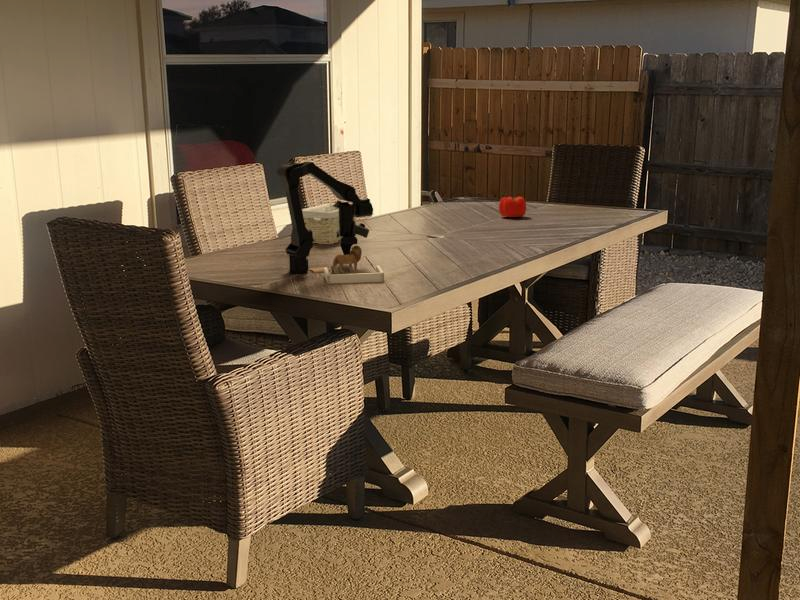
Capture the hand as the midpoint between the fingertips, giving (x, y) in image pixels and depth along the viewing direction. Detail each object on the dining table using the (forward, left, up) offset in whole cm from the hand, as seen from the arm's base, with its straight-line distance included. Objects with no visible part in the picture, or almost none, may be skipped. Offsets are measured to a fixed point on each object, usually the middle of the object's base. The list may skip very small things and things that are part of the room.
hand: (347, 259), depth 367 cm
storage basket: (-2, +60, -3) cm, 60 cm away
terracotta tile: (-11, -8, -3) cm, 14 cm away
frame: (0, -24, -2) cm, 24 cm away
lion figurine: (-1, -10, -3) cm, 11 cm away
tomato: (+94, +109, -3) cm, 144 cm away
